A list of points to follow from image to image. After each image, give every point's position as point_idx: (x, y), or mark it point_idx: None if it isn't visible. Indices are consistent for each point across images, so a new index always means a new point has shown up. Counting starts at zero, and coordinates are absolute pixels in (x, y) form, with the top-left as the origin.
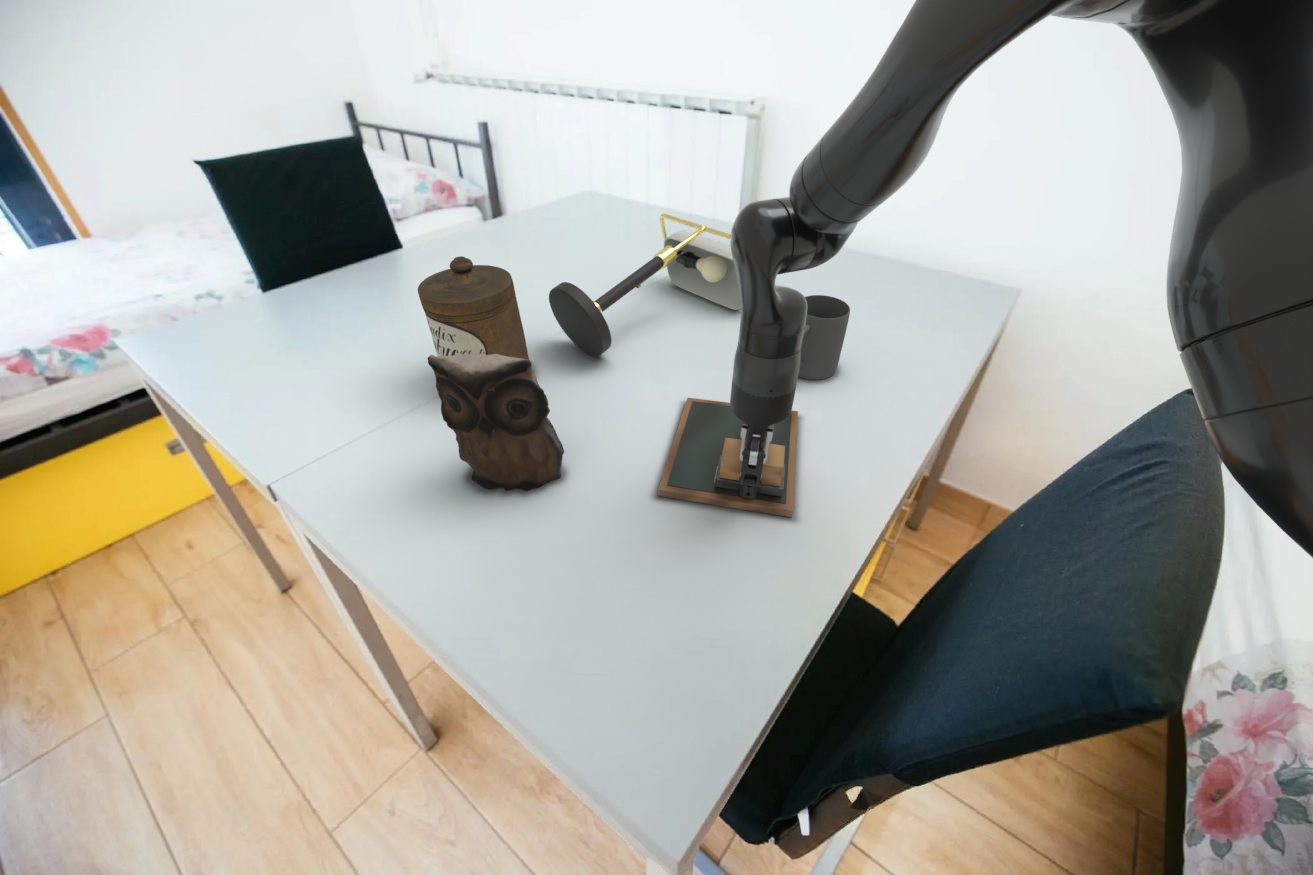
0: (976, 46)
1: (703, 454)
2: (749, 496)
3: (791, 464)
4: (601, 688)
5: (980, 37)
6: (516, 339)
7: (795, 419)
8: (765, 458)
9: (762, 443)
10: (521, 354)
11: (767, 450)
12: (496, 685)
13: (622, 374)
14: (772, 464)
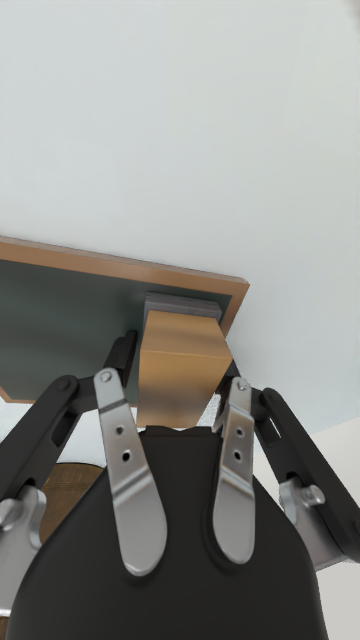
0: None
1: (129, 386)
2: None
3: (118, 271)
4: (348, 405)
5: None
6: (44, 532)
7: None
8: (252, 430)
9: (304, 543)
10: (52, 505)
11: (251, 454)
12: (316, 431)
13: (4, 434)
14: (218, 375)
